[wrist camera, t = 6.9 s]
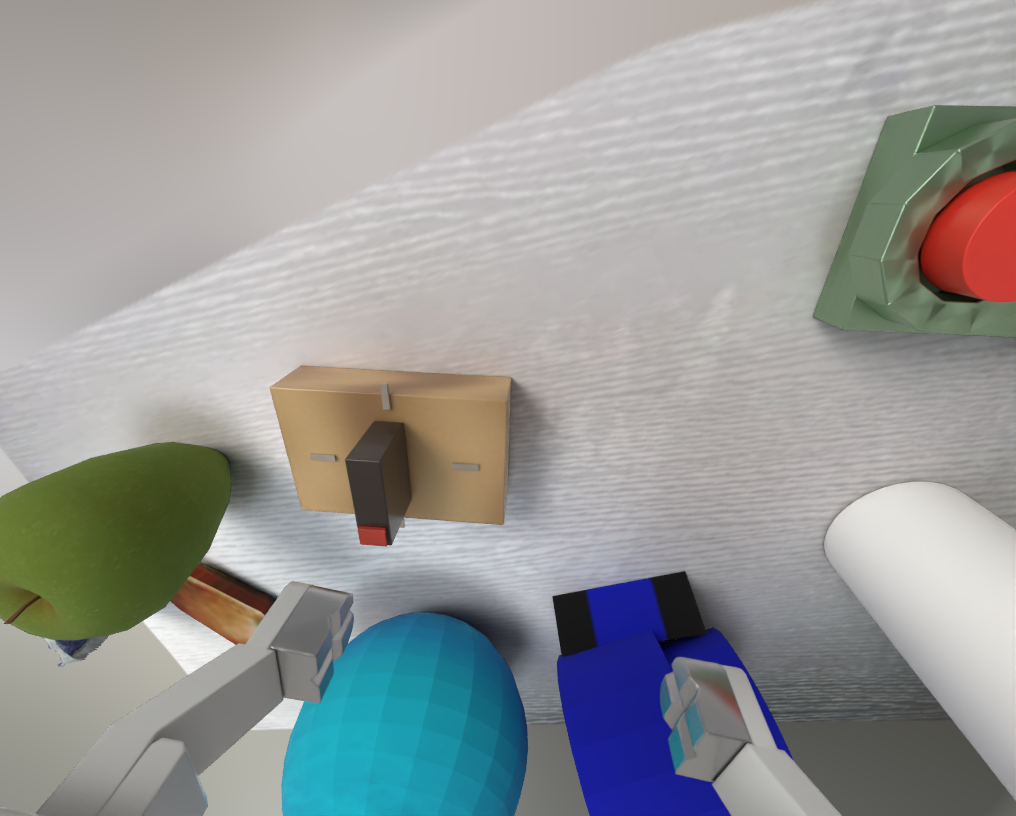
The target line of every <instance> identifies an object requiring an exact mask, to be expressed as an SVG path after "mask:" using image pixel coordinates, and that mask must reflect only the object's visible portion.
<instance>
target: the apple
mask: <svg viewBox="0 0 1016 816" xmlns="http://www.w3.org/2000/svg"><path fill="white" fill-rule="evenodd" d="M230 493H231V473H230V465H229V462H228V459H226V458H225V457H224V456H223V455H222V454H221V453H220V452H218V451H216V450H213V449H211V448H207V447H203V446H198V445H191V444H184V443H177V442H167V443H155V444H151V445H146V446H142V447H137V448H133V449H129V450H124V451H120V452H115V453H111V454H107V455H102V456H98V457H94V458H90V459H87V460H85V461H83V462H80V463H78V464H75V465H73V466H70V467H68V468H65V469H63V470H60V471H58V472H55V473H53V474H50V475H48V476H45V477H43V478H40V479H38V480H35V481H33V482H30V483H28V484H26V485H24V486H21V487H19V488H18V489H15V490H13V491H11V492H9V493H7V494H5V495H4V496H2V497H1V498H0V618H1V619H3V620H4V621H5V623H4V624H11V625H13V626H15V627H17V628H19V629H21V630H23V631H24V632H27V633H28V634H32V635H36V636H40V637H43V638H47V639H51V640H81V639H88V638H94V637H101V636H108V635H111V634H115V633H119V632H122V631H126V630H129V629H131V628H132V627H134V626H135V625H137V624H139V623H140V622H142V621H143V620H145V619H147V618H148V617H150V616H151V615H153V614H155V613H156V612H158V611H159V610H161V609H163V608H164V607H165V606H166V605H167V604H168V603H169V602H170V601H171V599H172V598H173V597H174V596H175V595H176V594H177V592H178V591H179V590H180V588H181V587H182V586H183V584H184V583H185V582H186V580H187V579H188V577H189V576H190V575H191V573H192V572H193V571H194V569H195V568H196V567H197V565H198V564H199V563H200V561H201V560H202V558H203V557H204V556H205V554H206V553H207V552H208V550H209V549H210V546H211V544H212V542H213V539H214V537H215V534H216V532H217V530H218V527H219V525H220V523H221V520H222V518H223V515H224V513H225V511H226V508H227V506H228V504H229V501H230Z"/></svg>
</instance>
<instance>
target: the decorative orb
mask: <svg viewBox="0 0 1016 816" xmlns="http://www.w3.org/2000/svg"><path fill="white" fill-rule="evenodd" d="M333 666H334V675H333V677H332V679H331V681H330V683H329V685H328V687H327V689H326V692H325V694H324V696H323V698H322V700H321V702H320V703H314V702H308V701H304V703H303V706H302V708H301V711H300V713H299V716H298V718H297V721H296V723H295V726H294V728H293V731H292V734H291V736H290V740H289V744H288V748H287V752H286V756H285V760H284V768H283V777H282V812H283V816H514V815H515V812H516V809H517V805H518V802H519V798H520V795H521V790H522V786H523V781H524V777H525V772H526V764H527V753H528V739H527V724H526V718H525V712H524V707H523V704H522V701H521V698H520V695H519V692H518V689H517V686H516V683H515V680H514V677H513V674H512V672H511V670H510V668H509V666H508V664H507V662H506V660H505V659H504V658H503V656H502V655H501V654H500V653H499V651H498V650H497V649H496V648H495V647H494V645H493V644H492V643H491V642H490V641H489V640H488V639H487V637H486V636H485V635H483V634H482V633H481V632H479V631H478V630H476V629H475V628H473V627H472V626H470V625H469V624H467V623H465V622H464V621H462V620H459V619H456V618H453V617H451V616H448V615H444V614H437V613H430V612H421V613H408V614H403V615H399V616H396V617H393V618H390V619H387V620H384V621H382V622H379V623H377V624H375V625H373V626H371V627H369V628H368V629H367V630H365V631H364V632H363V633H361V634H360V635H358V636H357V637H356V638H355V639H353V640H352V641H351V642H349V643H348V644H347V646H346V648H345V651H344V653H343V655H342V656H340V657H339V658H338V659H336V660H335V661H334V662H333Z"/></svg>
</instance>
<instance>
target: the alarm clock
mask: <svg viewBox="0 0 1016 816" xmlns="http://www.w3.org/2000/svg"><path fill="white" fill-rule="evenodd" d="M553 603H554V609H555V615H556V622H557V628H558V635H559V641H560V647H561V654H562V655H559V657H558V661H557V673H558V684H559V690H560V696H561V702H562V708H563V714H564V718H565V723H566V727H567V732H568V736H569V740H570V745H571V749H572V754H573V757H574V761H575V765H576V769H577V772H578V776H579V779H580V784H581V787H582V791H583V795H584V798H585V802H586V805H587V808H588V811H589V814H590V816H731V814H730V813H729V811H728V810H727V808H726V806H725V805H724V803H723V802H722V800H721V798H720V797H719V795H718V794H717V792H716V790H715V789H714V787H713V786H712V784H713V782H708V781H704V780H700V779H695V778H691V777H686V776H682V775H678V774H675V770H674V765H673V761H672V756H671V752H670V747H669V743H668V738H669V735H670V733H671V731H672V729H671V728H670V727H669V725H668V724H667V722H666V721H665V720H664V718H663V715H662V710H661V705H660V689H661V683H662V681H663V679H664V677H665V675H666V674H669V673H671V672H673V668H672V663H673V661H674V660H675V658H677V657H684V658H690V659H696V660H701V661H707V662H713V663H718V664H720V665H726V666H731V667H737V668H740V669H742V670H743V671H744V672H745V674H746V675H747V678H748V680H749V682H750V685H751V687H752V689H753V692H754V694H755V697H756V699H757V701H758V704H759V706H760V708H761V711H762V713H763V716H764V718H765V720H766V723H767V725H768V727H769V730H770V732H771V735H772V737H773V739H774V742H775V744H776V746H777V749H780V750H784V751H785V752H786V753H787V754H788V755H789V757H790V758H791V759H792V756H791V754H790V751H789V750H788V747H787V745H786V743H785V741H784V739H783V737H782V735H781V732H780V731H779V728H778V726H777V724H776V722H775V720H774V718H773V716H772V714H771V712H770V711H769V709H768V707H767V705H766V703H765V701H764V699H763V697H762V696H761V694H760V692H759V690H758V688H757V687H756V685H755V683H754V681H753V680H752V678H751V676H750V675H749V673H748V671H747V670H746V668H745V666H744V665H743V663H742V661H741V660H740V659H739V657H738V656H737V654H736V653H735V651H734V650H733V648H732V647H731V645H730V644H729V642H728V641H727V640H726V639H725V638H724V636H723V635H722V634H721V633H720V632H719V631H718V630H717V629H715V628H714V627H713V628H710V629H707V630H705V628H704V625H703V622H702V619H701V616H700V613H699V611H698V608H697V605H696V602H695V599H694V596H693V593H692V590H691V587H690V584H689V582H688V579H687V576H686V573H685V572H679V573H674V574H669V575H664V576H658V577H653V578H648V579H642V580H637V581H632V582H627V583H621V584H616V585H611V586H605V587H600V588H595V589H589V590H584V591H579V592H574V593H568V594H563V595H558V596H553ZM677 638H680V639H677ZM670 639H677V640H674V641H671V642H668V643H665V644H662V645H659V643H658V641H664V640H670ZM792 760H793V759H792Z"/></svg>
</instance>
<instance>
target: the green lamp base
mask: <svg viewBox="0 0 1016 816" xmlns="http://www.w3.org/2000/svg"><path fill="white" fill-rule="evenodd" d="M1010 171H1016V107H1014V106H951V105H934V106H929V107H925V108H921V109H917V110H912V111H908V112H904V113H900V114H895V115H891V116H888V117H887V119H886V122H885V125H884V127H883V130H882V133H881V135H880V138H879V141H878V143H877V146H876V149H875V151H874V154H873V157H872V159H871V162H870V165H869V167H868V170H867V173H866V175H865V178H864V181H863V184H862V186H861V189H860V192H859V194H858V197H857V200H856V202H855V205H854V208H853V210H852V213H851V216H850V218H849V221H848V224H847V226H846V229H845V232H844V234H843V237H842V240H841V242H840V245H839V248H838V250H837V253H836V256H835V258H834V261H833V264H832V266H831V269H830V272H829V274H828V277H827V280H826V282H825V285H824V288H823V291H822V293H821V296H820V299H819V301H818V304H817V307H816V309H815V312H814V315H813V317H815V318H817V319H819V320H821V321H824V322H826V323H828V324H831V325H833V326H835V327H837V328H840V329H842V330H863V331H885V332H907V333H929V334H951V335H973V336H995V337H1016V301H1014V302H1002V303H999V302H991V301H986V300H982V299H978V298H973V297H969V296H965V295H960V294H956V293H952V292H948V291H944V290H941V289H939V288H937V287H935V286H934V285H932V284H931V283H930V282H929V281H928V280H927V278H926V277H925V275H924V273H923V270H922V266H921V250H922V245H923V242H924V239H925V237H926V235H927V232H928V230H929V228H930V226H931V225H932V223H933V222H934V220H935V219H936V217H937V216H938V215H939V213H940V212H941V211H942V210H943V209H944V208H945V207H946V206H947V205H948V203H950V202H951V201H952V200H953V199H954V198H955V197H956V196H957V195H959V194H960V193H961V192H963V191H964V190H966V189H967V188H969V187H970V186H972V185H974V184H975V183H977V182H979V181H981V180H983V179H986V178H988V177H991V176H993V175H997V174H1000V173H1004V172H1010Z"/></svg>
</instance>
